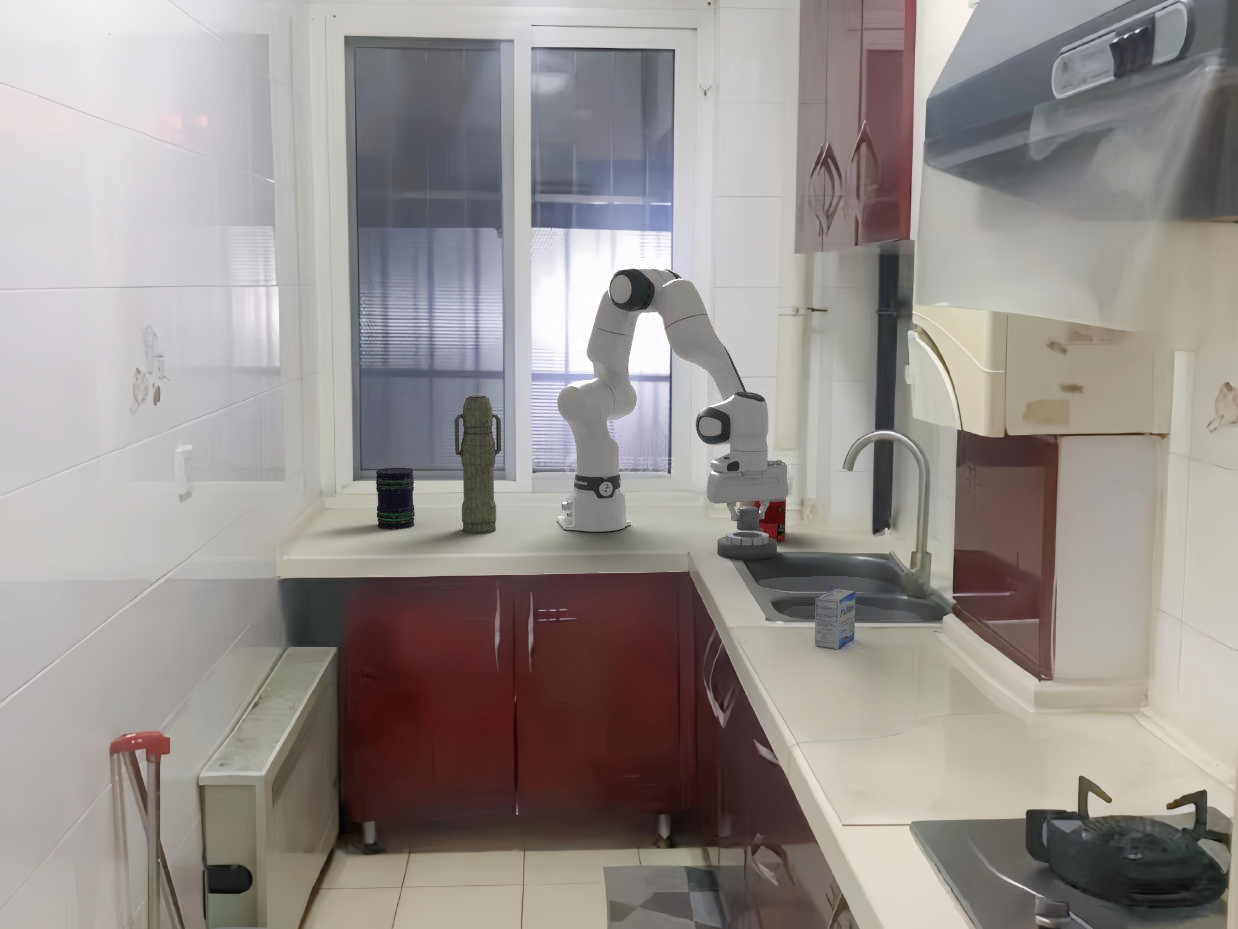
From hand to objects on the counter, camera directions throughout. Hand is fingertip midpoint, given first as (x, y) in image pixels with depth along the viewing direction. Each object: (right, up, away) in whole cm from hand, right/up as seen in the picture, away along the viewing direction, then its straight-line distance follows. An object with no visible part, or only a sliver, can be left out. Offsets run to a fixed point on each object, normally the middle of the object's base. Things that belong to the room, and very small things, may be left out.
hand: (747, 519), depth 266 cm
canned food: (+7, -6, +17) cm, 20 cm away
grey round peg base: (0, -8, +1) cm, 8 cm away
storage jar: (-90, -4, +34) cm, 96 cm away
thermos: (-67, -4, +28) cm, 73 cm away
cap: (0, -2, 0) cm, 2 cm away
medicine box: (+7, -18, -70) cm, 73 cm away
